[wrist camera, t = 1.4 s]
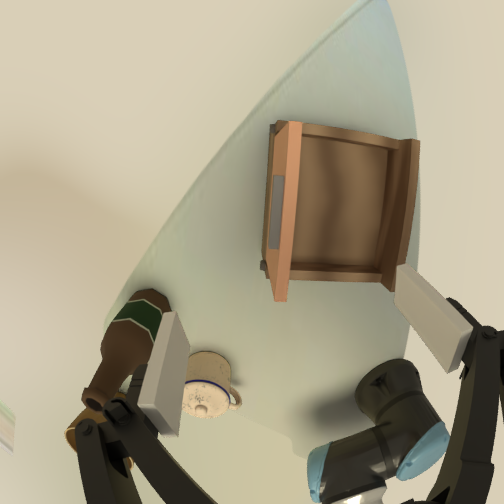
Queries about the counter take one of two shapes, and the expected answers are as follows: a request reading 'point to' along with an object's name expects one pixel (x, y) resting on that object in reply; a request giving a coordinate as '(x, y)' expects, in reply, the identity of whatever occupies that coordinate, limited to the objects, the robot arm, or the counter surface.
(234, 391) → the teacup with lid
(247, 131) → the counter surface
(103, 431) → the robot arm
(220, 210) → the counter surface
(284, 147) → the orange rectangular slab
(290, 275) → the tray
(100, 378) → the beer bottle
